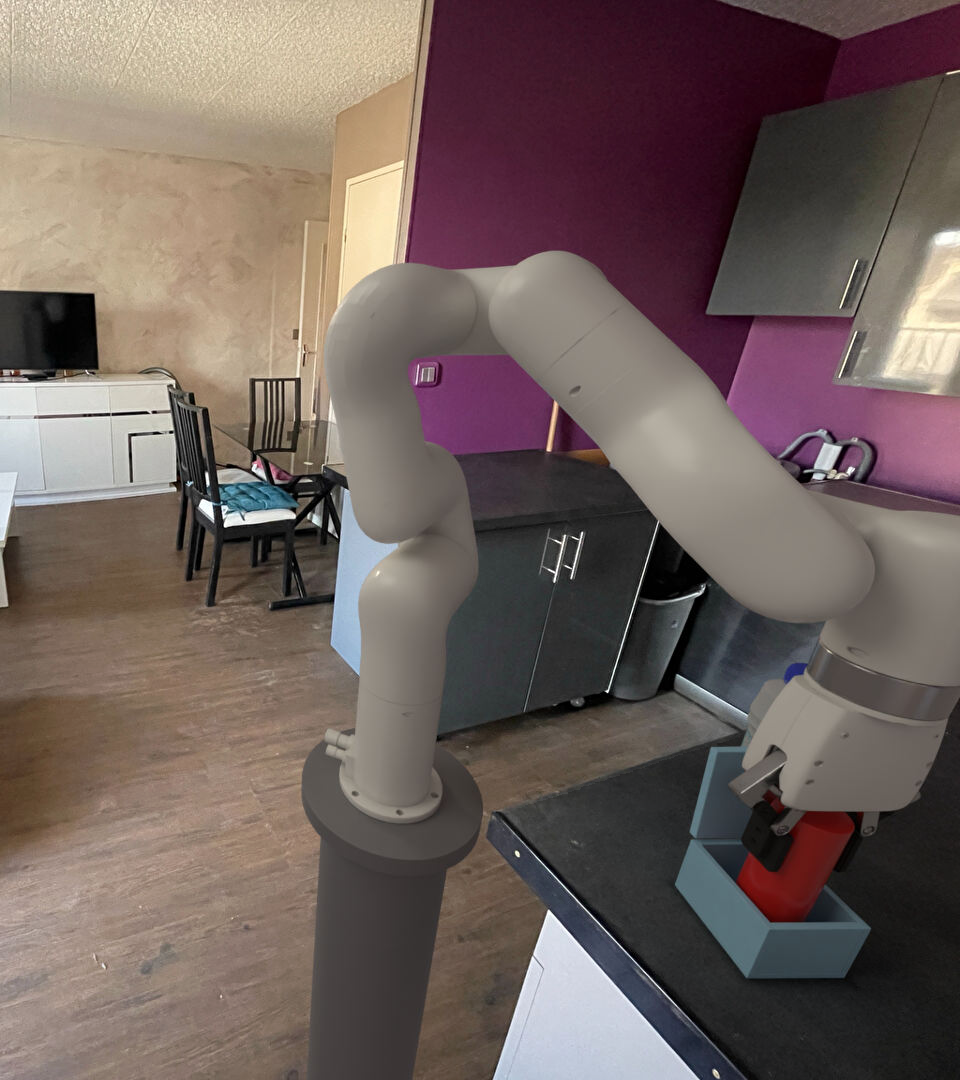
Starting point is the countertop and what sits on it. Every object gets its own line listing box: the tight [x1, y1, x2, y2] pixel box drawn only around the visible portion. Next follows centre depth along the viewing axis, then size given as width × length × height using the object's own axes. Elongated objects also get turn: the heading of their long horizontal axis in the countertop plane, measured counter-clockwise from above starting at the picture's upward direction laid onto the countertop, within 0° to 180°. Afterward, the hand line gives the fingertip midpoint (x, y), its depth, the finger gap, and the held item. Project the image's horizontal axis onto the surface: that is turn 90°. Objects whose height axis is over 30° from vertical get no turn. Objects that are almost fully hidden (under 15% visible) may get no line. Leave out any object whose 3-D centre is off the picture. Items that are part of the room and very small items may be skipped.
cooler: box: [674, 838, 872, 979], centre depth 53 cm, size 9×8×6 cm
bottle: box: [740, 662, 808, 747], centre depth 62 cm, size 7×7×20 cm
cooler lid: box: [689, 746, 753, 839], centre depth 54 cm, size 10×8×1 cm
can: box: [735, 797, 855, 923], centre depth 50 cm, size 5×5×12 cm
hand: (791, 855), depth 49 cm, fingers closed on can, 4 cm apart
